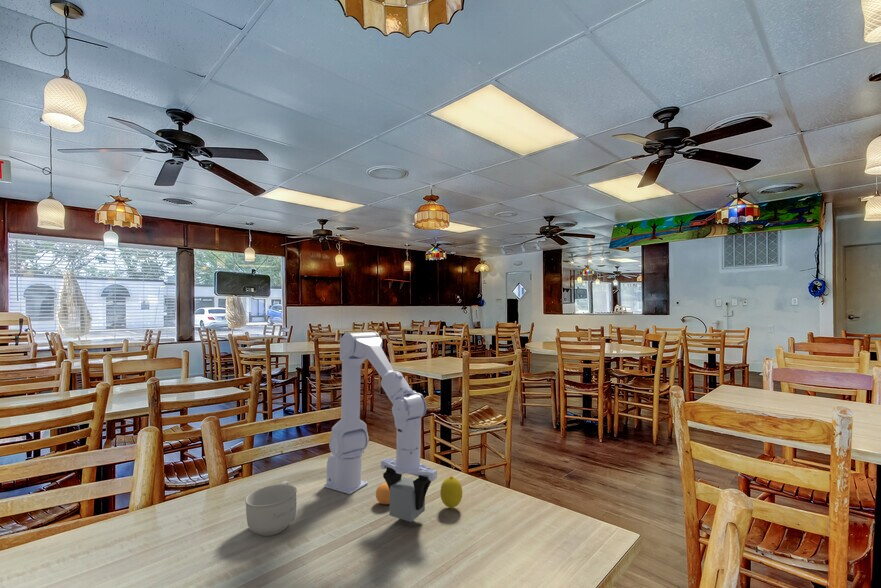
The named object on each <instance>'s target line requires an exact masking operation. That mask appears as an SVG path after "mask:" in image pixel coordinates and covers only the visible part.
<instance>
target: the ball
mask: <svg viewBox="0 0 881 588" xmlns="http://www.w3.org/2000/svg"><path fill="white" fill-rule="evenodd" d="M375 498H376V500H377V502H378V503H380V504H381V505H390V490H389V487H388V485H387V482H383V483H381V484H379V485H378V487H377V488H376V490H375Z"/></svg>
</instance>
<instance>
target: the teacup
mask: <svg viewBox="0 0 881 588" xmlns="http://www.w3.org/2000/svg"><path fill="white" fill-rule="evenodd" d="M297 492H298V491H297V487H296V486H295V485H292V484H290V483H289V481H287V480H283V481H281V482H280V483H275V484H271V485H266V486H263V487H260V488H257V489H255V490H254V491H251V492H250V493H249V494H248V495H247V496H246V497H245V499H244V500H245V514H246V523H247V526H248V528H249V529H250V531H251V532H254V534H257V535H260V536H262V537H265V536H274V535H277V534H279V533H281V532H284V530H286V529H287V528H288V526H290V525H291V524H292V523H293V521H294V519H295V518H296V515H297V514H296V513H297Z"/></svg>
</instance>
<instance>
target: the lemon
mask: <svg viewBox="0 0 881 588" xmlns="http://www.w3.org/2000/svg"><path fill="white" fill-rule="evenodd" d="M439 493H440V495H439V496H440V499H441V501H442V503H443V505H444V506H446V507H448V508H449V509H450V510H453V509H454V508H456V507H457V506H458V505H459V504H460V503H461V501H462V498H463V487H462V483H461V482H460V480H459V479H457V477H455V476H453V475H450V476H449V477H447V478H445V479H444V480H443V481H442V483H441V485H440V491H439Z"/></svg>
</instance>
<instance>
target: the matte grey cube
mask: <svg viewBox="0 0 881 588" xmlns="http://www.w3.org/2000/svg"><path fill="white" fill-rule="evenodd" d="M414 480H415V479H413V478H409V477H405V476H403V477H401V480H399V481H398V482H396V483H395V484H393V485H391V486H390V503H389V510H388V511H389V517H390V516H391V517H393V518H397V519H400V520H403V521H407V522H409V523H412V522H413V521H414V520H416V519H417V518H418V517H419V516H421V515H422V514H423V513H424V512H425V511H426V498H425V499H424V503H423V507H422V508H421V509H420V510H416V505H415V502H416V495H415V488H414V484H413V481H414Z"/></svg>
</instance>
